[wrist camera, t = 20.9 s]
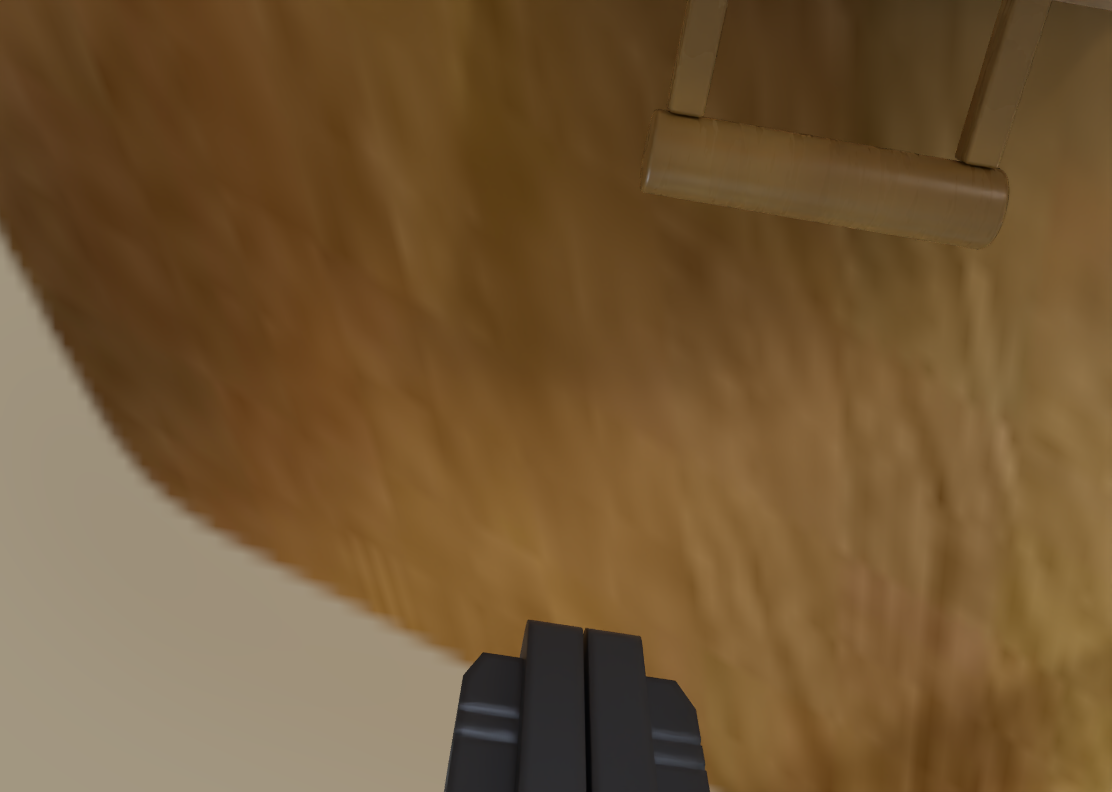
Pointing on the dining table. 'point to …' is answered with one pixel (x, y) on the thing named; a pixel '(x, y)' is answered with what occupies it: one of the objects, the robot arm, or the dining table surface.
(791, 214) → the drawer
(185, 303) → the dining table surface
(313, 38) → the dining table surface
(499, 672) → the robot arm
